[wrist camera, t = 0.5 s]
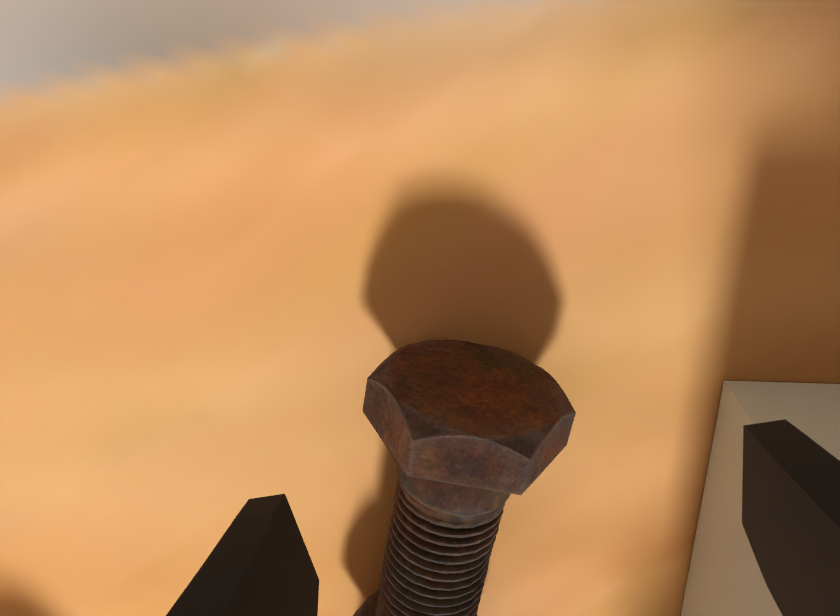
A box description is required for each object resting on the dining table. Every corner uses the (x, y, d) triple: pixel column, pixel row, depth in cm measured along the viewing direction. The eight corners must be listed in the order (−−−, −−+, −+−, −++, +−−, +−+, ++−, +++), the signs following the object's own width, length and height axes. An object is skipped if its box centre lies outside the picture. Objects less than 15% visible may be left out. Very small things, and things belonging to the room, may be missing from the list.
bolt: (389, 645, 29) (451, 318, 23) (496, 720, 27) (598, 381, 21) (290, 754, 25) (334, 384, 19) (410, 856, 23) (506, 473, 16)
